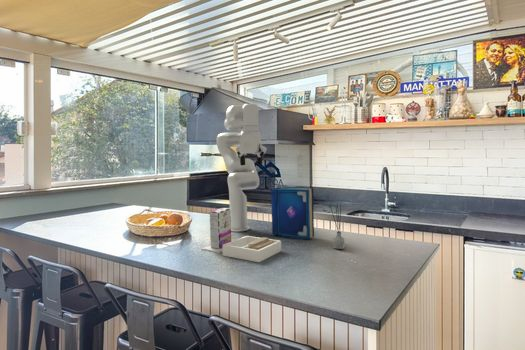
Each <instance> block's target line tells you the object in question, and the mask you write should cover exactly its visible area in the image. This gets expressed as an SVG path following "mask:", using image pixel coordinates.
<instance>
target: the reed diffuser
mask: <svg viewBox="0 0 525 350" xmlns="http://www.w3.org/2000/svg"><path fill="white" fill-rule="evenodd" d="M336 205H337V206H336V207H335V212H336V215H335V216H337V218H335V216H334V213H333V210H332V206H331V205H329V207H330V211H331V214H332V217H333V220H334V223H335V226H336V230H337V232H336V235H335V237H333V241H332V242H333V243H332V245H333V248H334V249H338V250H343V249H344V248H345V246H346V242H345V239H344V237H342V232H341V223H339V220H340V219H341V215H342V213H341V211H342V209H341V208H342V203H340V206H339V204H336ZM339 207H340V208H339ZM338 209H339V211H338Z"/></svg>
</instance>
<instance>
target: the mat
mask: <svg viewBox="0 0 525 350" xmlns="http://www.w3.org/2000/svg"><path fill="white" fill-rule="evenodd" d="M201 251H207V252H210V253H211V252H212V253H217V254H220V253H223V247H222V248H220V249H217V248H211V244H209V245H207V246H203V247H201Z"/></svg>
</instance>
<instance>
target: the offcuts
mask: <svg viewBox="0 0 525 350" xmlns="http://www.w3.org/2000/svg"><path fill="white" fill-rule="evenodd" d="M260 238H261V239H258V240H256V241H253V242H251V243H248V248H249V249H255V250H259V249H261V248H264V247H266V246H268V245H270V244H272V243H274V241H271V240H269V239H270V238H269V237H265V236H264V237H260Z"/></svg>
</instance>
